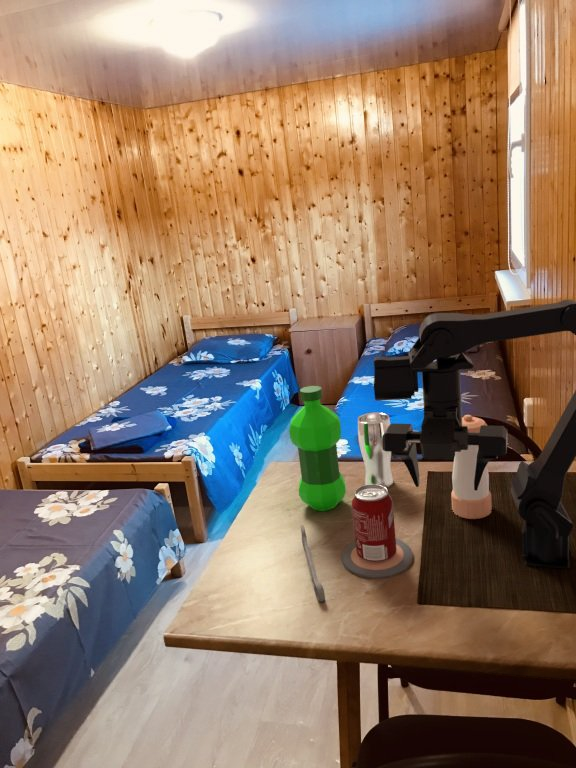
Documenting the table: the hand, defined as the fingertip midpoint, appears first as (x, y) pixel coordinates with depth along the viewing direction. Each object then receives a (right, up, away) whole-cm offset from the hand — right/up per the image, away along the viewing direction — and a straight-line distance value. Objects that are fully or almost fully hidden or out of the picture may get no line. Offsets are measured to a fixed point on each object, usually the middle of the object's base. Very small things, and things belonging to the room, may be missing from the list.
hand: (446, 487), depth 100 cm
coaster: (-10, -13, +6) cm, 18 cm away
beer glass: (-6, -5, +33) cm, 34 cm away
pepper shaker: (+9, -7, +18) cm, 22 cm away
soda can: (-10, -13, +6) cm, 17 cm away
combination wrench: (-21, -15, +6) cm, 27 cm away
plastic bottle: (-18, -8, +27) cm, 34 cm away
